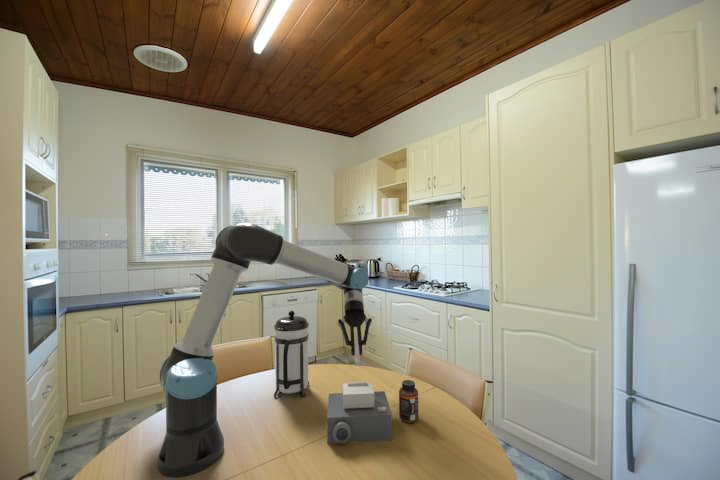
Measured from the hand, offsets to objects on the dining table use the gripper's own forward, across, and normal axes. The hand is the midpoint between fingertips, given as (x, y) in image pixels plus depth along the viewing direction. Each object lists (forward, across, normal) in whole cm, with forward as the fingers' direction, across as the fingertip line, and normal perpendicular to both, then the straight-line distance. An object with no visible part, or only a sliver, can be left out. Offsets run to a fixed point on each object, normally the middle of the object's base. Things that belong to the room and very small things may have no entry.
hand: (357, 363), depth 106 cm
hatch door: (+13, +1, +4) cm, 14 cm away
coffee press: (+2, +24, -19) cm, 30 cm away
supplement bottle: (+17, -15, -4) cm, 23 cm away
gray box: (+20, +1, 0) cm, 20 cm away
